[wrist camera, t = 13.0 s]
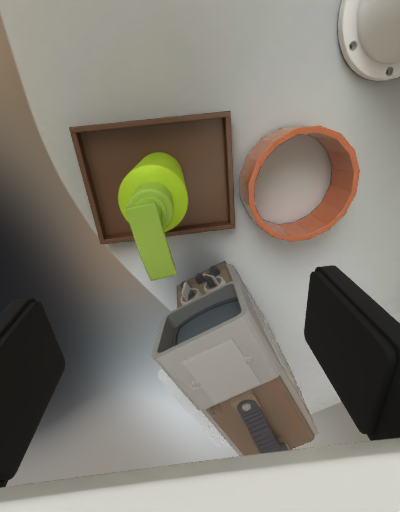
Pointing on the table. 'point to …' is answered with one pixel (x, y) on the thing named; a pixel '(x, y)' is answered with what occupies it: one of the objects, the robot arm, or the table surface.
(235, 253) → the table surface
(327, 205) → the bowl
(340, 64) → the table surface
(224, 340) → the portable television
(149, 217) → the soap dispenser
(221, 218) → the tray
